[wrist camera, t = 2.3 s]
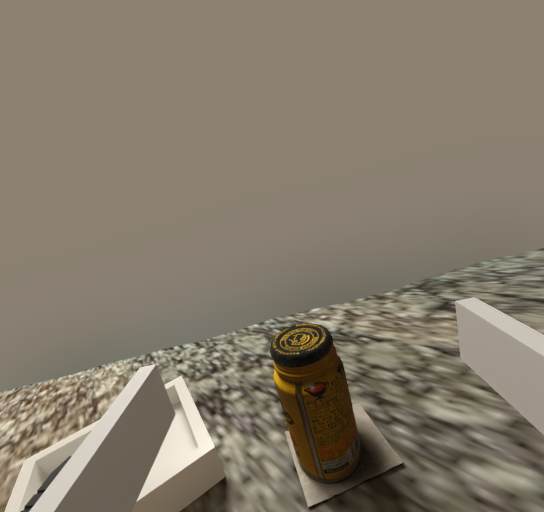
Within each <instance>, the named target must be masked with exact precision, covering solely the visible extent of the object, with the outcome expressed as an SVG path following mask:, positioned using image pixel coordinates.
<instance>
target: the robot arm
mask: <svg viewBox="0 0 544 512" xmlns="http://www.w3.org/2000/svg"><path fill="white" fill-rule="evenodd" d="M455 304H456V315H457V325H458V336H459V346H460V357H461V360H463V361H464V362H465V363H466V364H467V365H468V366H469V367H470V368H471V369H472V370H474V371H475V372H476V373H477V374H478V375H479V376H480V377H481V378H482V379H483V380H484V381H486V382H487V383H488V384H489V385H490V386H491V387H492V388H493V389H494V390H495V391H496V392H498V393H499V394H500V395H501V396H502V397H503V398H504V399H505V400H506V401H507V402H508V403H510V404H511V405H512V406H513V407H514V408H515V409H516V410H517V411H518V412H519V413H521V414H522V415H523V416H524V417H525V418H526V419H527V420H528V421H529V422H530V423H531V424H533V425H534V426H535V427H536V428H537V429H538V430H539V431H540V432H541V433H542V434H543V435H544V335H543V334H541V333H539V332H537V331H536V330H534V329H532V328H530V327H528V326H526V325H525V324H523V323H521V322H519V321H517V320H515V319H513V318H512V317H510V316H508V315H506V314H504V313H502V312H500V311H499V310H497V309H495V308H493V307H491V306H489V305H488V304H486V303H484V302H482V301H480V300H478V299H476V298H475V297H473V298H469V299H464V300H459V301H455ZM175 415H176V414H175V412H174V409H173V406H172V404H171V401H170V399H169V396H168V394H167V391H166V388H165V386H164V383H163V381H162V378H161V376H160V373H159V370H158V368H157V365H156V364H155V365H150V366H146V367H141V368H139V370H138V371H137V372H136V374H135V375H134V376H133V378H132V379H131V380H130V381H129V383H128V384H127V385H126V387H125V388H124V389H123V390H122V392H121V393H120V394H119V396H118V397H117V398H116V400H115V401H114V402H113V403H112V405H111V406H110V407H109V409H108V410H107V411H106V413H105V414H104V415H103V416H102V418H101V419H100V420H99V422H98V423H97V424H96V426H95V427H94V428H93V429H92V431H91V432H90V433H89V435H88V436H87V437H86V439H85V440H84V441H83V442H82V444H81V445H80V446H79V448H78V449H77V450H76V451H75V453H74V454H73V455H72V456H69V457H68V458H67V459H66V460H65V461H64V462H63V463H61V464H60V465H59V466H58V467H57V468H56V469H55V470H54V471H53V472H52V473H51V474H50V475H49V477H48V478H47V479H46V480H45V482H44V483H43V484H42V485H41V487H40V488H39V489H38V490H37V494H35V495H33V497H32V498H31V499H30V500H29V502H28V503H27V504H26V505H25V508H24V510H23V511H21V512H132V510H133V508H134V506H135V503H136V501H137V499H138V497H139V495H140V492H141V490H142V488H143V486H144V484H145V481H146V479H147V477H148V475H149V472H150V470H151V468H152V466H153V464H154V461H155V459H156V457H157V455H158V452H159V450H160V448H161V446H162V444H163V441H164V439H165V437H166V435H167V433H168V430H169V428H170V426H171V424H172V421H173V419H174V417H175Z"/></svg>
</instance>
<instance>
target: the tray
mask: <svg viewBox="0 0 544 512" xmlns="http://www.w3.org/2000/svg"><path fill="white" fill-rule="evenodd" d="M164 386H165V388H166V391H167V394H168V396H169V399H170V401H171V404H172V406H173V409H174V412H175V414H176V415H175V417H174V419H173V421H172V424H171V426H170V428H169V430H168V433H167V435H166V437H165V439H164V441H163V444H162V446H161V448H160V450H159V452H158V455H157V457H156V459H155V461H154V464H153V466H152V468H151V470H150V472H149V475H148V477H147V479H146V481H145V484H144V486H143V488H142V490H141V492H140V495H139V497H138V499H137V501H136V503H135V506H134V508H133V510H132V512H180V511H181V510H183V509H184V508H185V507H187V506H188V505H189V504H191V503H192V502H193V501H195V500H196V499H197V498H198V497H200V496H201V495H202V494H204V493H205V492H206V491H208V490H209V489H210V488H211V487H213V486H214V485H215V484H217V483H218V482H219V481H221V480H222V479H223V478H224V477H226V475H225V473H224V470H223V467H222V465H221V462H220V459H219V457H218V454H217V452H216V449H215V446H214V444H213V442H212V440H211V438H210V436H209V434H208V432H207V429H206V427H205V425H204V423H203V421H202V419H201V417H200V414H199V412H198V410H197V408H196V406H195V404H194V402H193V399H192V397H191V395H190V393H189V391H188V389H187V387H186V384H185V382H184V380H183V378H182V376H180V377H178V378H176V379H174V380H172V381H171V382H169V383H167V384H165V385H164ZM98 422H99V420H98V421H96V422H95V423H93V424H91V425H89V426H87V427H85V428H83V429H82V430H80V431H78V432H76V433H74V434H72V435H71V436H69V437H67V438H65V439H63V440H61V441H59V442H58V443H56V444H54V445H52V446H50V447H48V448H46V449H45V450H43V451H41V452H39V453H37V454H35V455H33V456H32V457H30V458H28V459H26V460H24V463H23V466H22V468H21V471H20V473H19V476H18V478H17V481H16V484H15V486H14V489H13V491H12V494H11V496H10V499H9V501H8V504H7V507H6V509H5V512H21V511H23V510H24V508H25V505H26V504H27V503H28V502H29V500H30V499H31V498H32V497H33V495H35V494H37V490H38V489H39V488H40V487H41V485H42V484H43V483H44V482H45V480H46V479H47V478H48V477H49V475H50V474H51V473H52V472H53V471H54V470H55V469H56V468H57V467H58V466H59V465H60V464H61V463H63V462H64V461H65V460H66V459H67V458H68V457H69V456H72V455H73V454H74V453H75V451H76V450H77V449H78V448H79V446H80V445H81V444H82V442H83V441H84V440H85V439H86V437H87V436H88V435H89V433H90V432H91V431H92V429H93V428H94V427H95V426H96V424H97V423H98Z"/></svg>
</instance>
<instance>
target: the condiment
mask: <svg viewBox="0 0 544 512" xmlns="http://www.w3.org/2000/svg"><path fill="white" fill-rule="evenodd" d="M270 353H271V356H272V358H273V363H274V368H275V370H274V381H275V385H276V389H277V392H278V395H279V398H280V402H281V406H282V409H283V413H284V416H285V418H286V423H287V426H288V429H289V431H287V432H285V434H286V437H287V441H288V444H289V447H290V450H291V453H292V457H293V460H294V463H295V466H296V469H297V473H298V476H299V479H300V482H301V485H302V488H303V492H304V495H305V498H306V501H307V504H308V507H310V506H312V505H314V504H317V503H319V502H321V501H324V500H326V499H328V498H331V497H333V496H334V495H337V494H340V493H342V492H344V491H346V490H347V489H350V488H352V487H354V486H356V485H358V484H360V483H362V482H363V481H365V480H367V479H370V478H372V477H374V476H376V475H379V474H381V473H383V472H385V471H387V470H389V469H390V468H392V467H394V466H397V465H399V464H401V463H403V461H402V460H401V459H400V457H399V456H398V455H397V454H396V453H395V451H394V450H393V448H392V447H391V446H390V445H389V443H388V442H387V441H386V439H385V438H384V437H383V435H382V434H381V433H380V431H379V430H378V428H377V427H376V426H375V425H374V423H373V422H372V420H371V419H370V417H369V416H368V415H367V414H366V412H365V411H364V409H363V408H362V406H361V405H360V404H359V402H358V403H355V404H352V403H351V398H350V394H349V389H348V384H347V380H346V375H345V371H344V366H343V363H342V361H341V359H340V357H339V356H338V355H337V354H336V349H335V347H334V345H333V339H332V336H331V334H330V332H329V331H328V330H327V329H326V328H325V327H323V326H321V325H317V324H310V323H306V324H298V325H294V326H291V327H288V328H286V329H284V330H283V331H281V332H280V333H278V334H277V335H276V336H275V337H274V339H273V340H272V342H271V349H270ZM361 465H363V467H362V466H361Z"/></svg>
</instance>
